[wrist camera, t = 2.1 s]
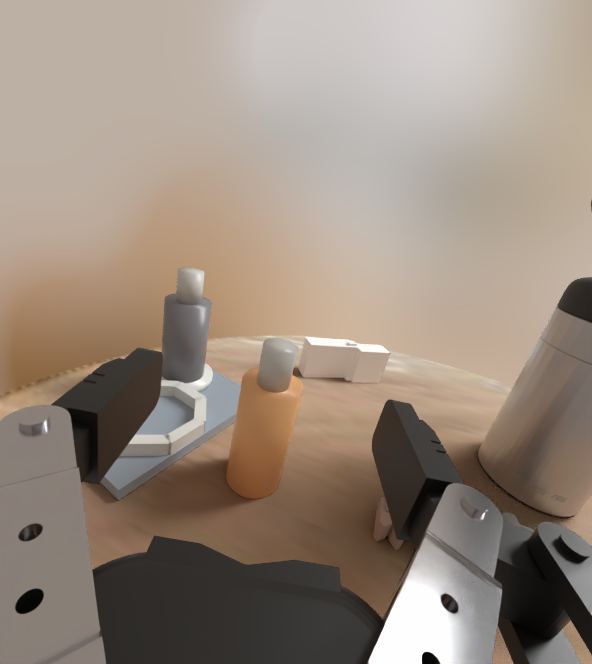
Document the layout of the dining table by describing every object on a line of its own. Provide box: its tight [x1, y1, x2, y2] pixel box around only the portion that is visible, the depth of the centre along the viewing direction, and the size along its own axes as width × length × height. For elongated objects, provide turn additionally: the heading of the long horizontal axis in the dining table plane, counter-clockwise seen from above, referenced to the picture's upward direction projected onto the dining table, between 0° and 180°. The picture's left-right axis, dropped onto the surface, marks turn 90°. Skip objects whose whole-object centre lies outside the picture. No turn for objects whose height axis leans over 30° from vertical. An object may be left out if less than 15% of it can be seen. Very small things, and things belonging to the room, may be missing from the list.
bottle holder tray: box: [100, 268, 241, 500], centre depth 29 cm, size 16×11×13 cm
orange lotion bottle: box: [226, 338, 303, 499], centre depth 24 cm, size 4×4×12 cm
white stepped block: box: [298, 337, 390, 383], centre depth 44 cm, size 15×11×6 cm
